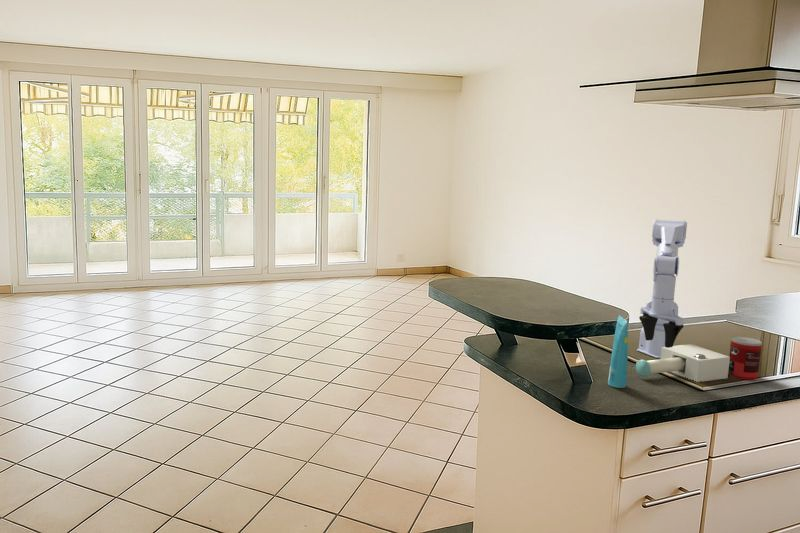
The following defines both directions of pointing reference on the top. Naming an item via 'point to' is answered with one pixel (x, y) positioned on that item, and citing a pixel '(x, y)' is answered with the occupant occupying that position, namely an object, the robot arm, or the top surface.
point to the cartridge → (660, 366)
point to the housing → (698, 362)
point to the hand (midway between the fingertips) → (658, 343)
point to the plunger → (700, 356)
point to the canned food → (744, 358)
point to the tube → (619, 355)
